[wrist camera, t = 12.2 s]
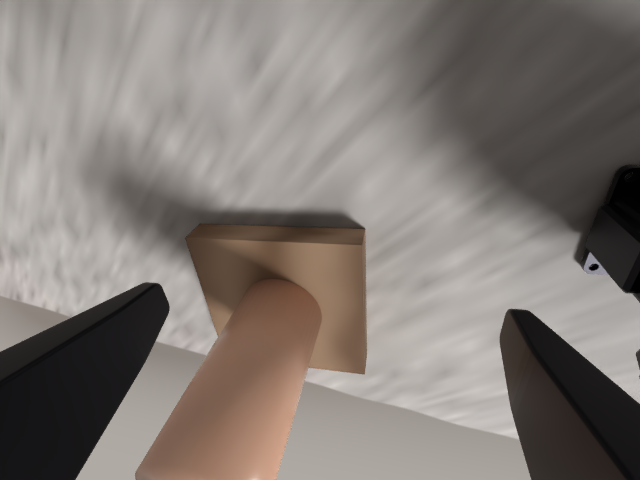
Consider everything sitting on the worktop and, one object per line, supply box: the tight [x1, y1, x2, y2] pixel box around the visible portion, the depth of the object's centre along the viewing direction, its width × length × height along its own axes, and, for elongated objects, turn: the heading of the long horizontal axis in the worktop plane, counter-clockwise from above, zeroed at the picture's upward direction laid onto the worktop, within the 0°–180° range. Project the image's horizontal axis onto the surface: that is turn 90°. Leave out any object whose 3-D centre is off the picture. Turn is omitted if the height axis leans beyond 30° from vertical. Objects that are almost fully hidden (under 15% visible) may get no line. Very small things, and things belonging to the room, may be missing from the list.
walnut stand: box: [185, 224, 367, 374], centre depth 26 cm, size 12×12×2 cm
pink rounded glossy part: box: [135, 279, 322, 480], centre depth 20 cm, size 6×6×12 cm
